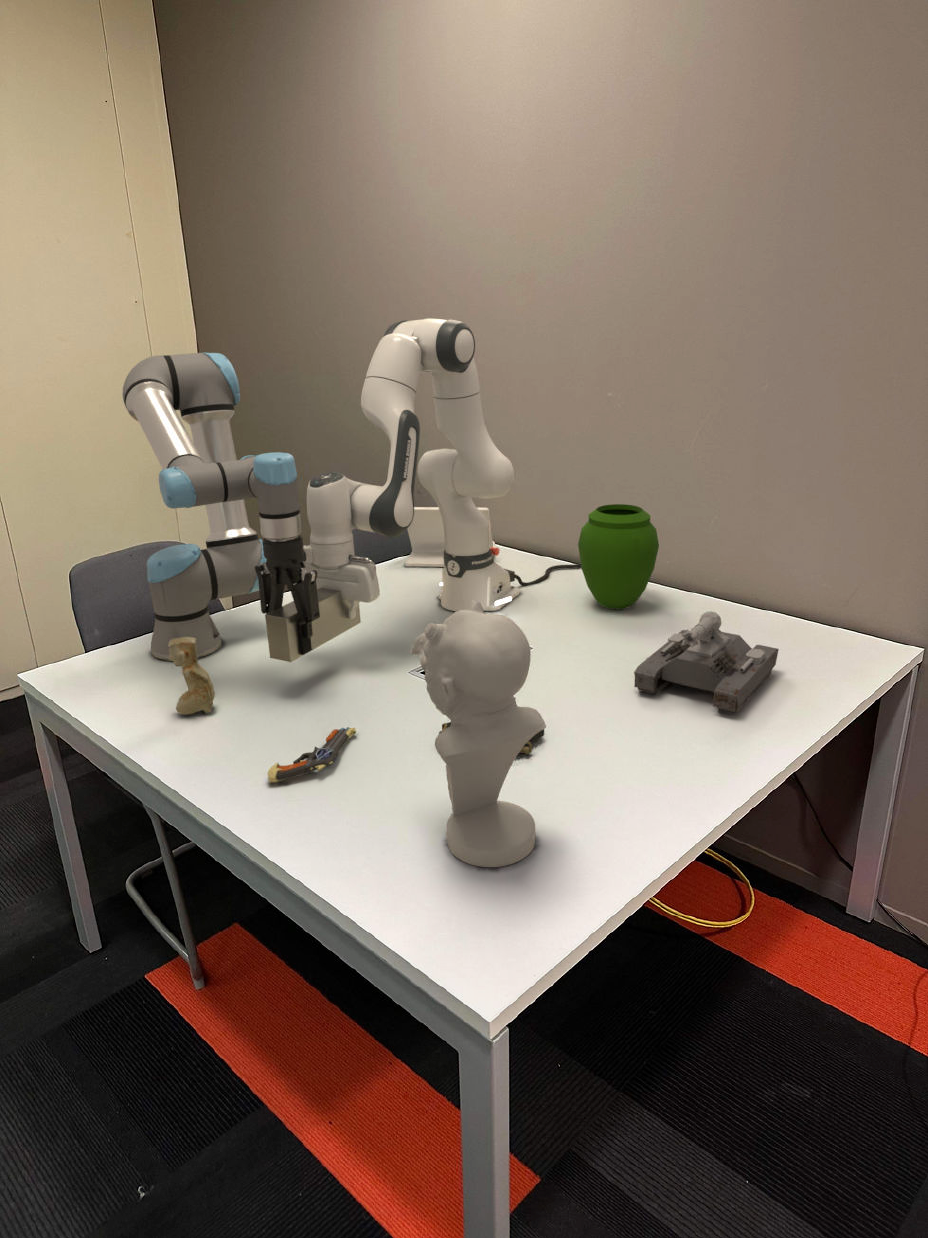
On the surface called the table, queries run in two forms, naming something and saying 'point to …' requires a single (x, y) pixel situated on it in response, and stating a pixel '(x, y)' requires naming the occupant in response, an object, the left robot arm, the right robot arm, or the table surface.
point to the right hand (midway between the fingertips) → (338, 615)
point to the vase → (618, 554)
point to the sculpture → (191, 677)
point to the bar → (324, 628)
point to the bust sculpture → (481, 729)
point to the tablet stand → (431, 537)
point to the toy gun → (313, 757)
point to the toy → (708, 664)
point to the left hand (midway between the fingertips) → (294, 649)
